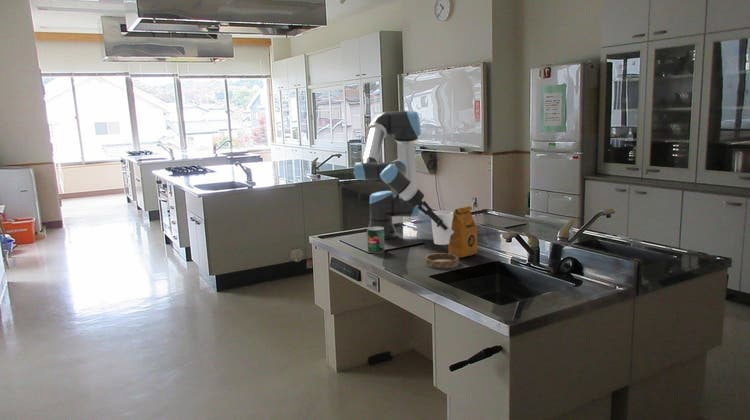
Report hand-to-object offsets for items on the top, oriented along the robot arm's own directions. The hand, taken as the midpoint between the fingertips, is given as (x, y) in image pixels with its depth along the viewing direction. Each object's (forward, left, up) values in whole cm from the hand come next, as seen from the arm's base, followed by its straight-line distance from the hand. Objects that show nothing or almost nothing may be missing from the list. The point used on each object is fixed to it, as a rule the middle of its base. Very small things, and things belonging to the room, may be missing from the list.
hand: (449, 231), depth 226 cm
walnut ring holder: (0, -3, -14) cm, 15 cm away
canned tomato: (-26, -29, -14) cm, 41 cm away
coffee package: (-13, +9, -14) cm, 21 cm away
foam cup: (0, -3, -5) cm, 6 cm away
